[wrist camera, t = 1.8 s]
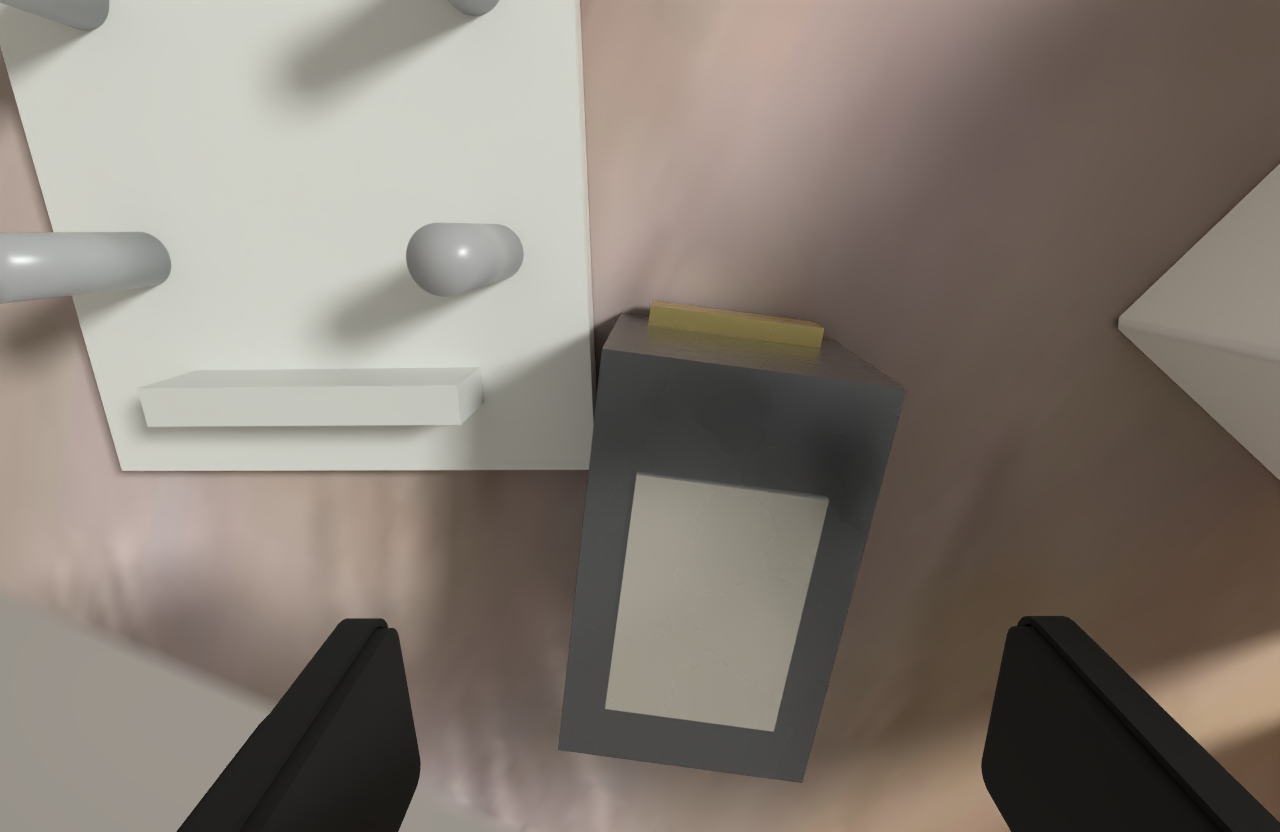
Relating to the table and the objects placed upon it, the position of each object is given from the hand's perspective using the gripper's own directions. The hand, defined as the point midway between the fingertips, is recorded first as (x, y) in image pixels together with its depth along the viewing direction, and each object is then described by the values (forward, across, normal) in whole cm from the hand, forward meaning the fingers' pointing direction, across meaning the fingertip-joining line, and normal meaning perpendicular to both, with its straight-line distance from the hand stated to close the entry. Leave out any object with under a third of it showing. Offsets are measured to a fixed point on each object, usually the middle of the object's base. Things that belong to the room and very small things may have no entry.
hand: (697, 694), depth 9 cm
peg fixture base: (+10, +9, -9) cm, 16 cm away
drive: (+10, -1, +1) cm, 10 cm away
